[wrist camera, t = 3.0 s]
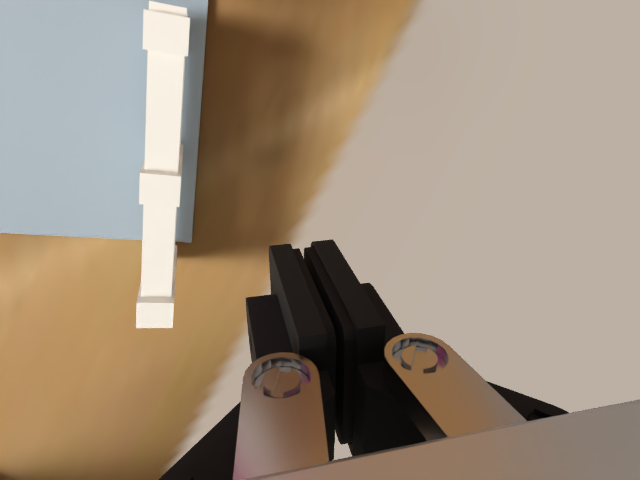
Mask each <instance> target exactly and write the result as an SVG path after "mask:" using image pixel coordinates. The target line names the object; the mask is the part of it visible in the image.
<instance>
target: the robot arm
mask: <svg viewBox="0 0 640 480" xmlns="http://www.w3.org/2000/svg"><path fill="white" fill-rule="evenodd" d="M269 262H270V281H271V295H264V296H256V297H248V298H246V311H247V323H248V334H249V343H250V351H251V358H252V364H251V365H250V366H249V367H248V369H247V370H246V371H245V375H244V377H243V384H242V394H241V402H240V403H239V404H237V405H236V406H235V407H234V408H233V409H232V410H231V411H230V412H229V413H228V414H227V415H226V416H225V417H224V418H223V419H222V420H221V421H220V422H219V423H218V424H217V425H216V426H215V427H213V428H212V429H211V430H210V431H209V432H208V433H207V434H206V435H205V436H204V437H203V438H202V439H201V440H200V441H199V442H198V443H197V444H196V445H194V446H193V447H192V448H191V449H190V450H189V451H188V452H187V453H186V454H185V455H184V456H183V457H182V458H181V459H180V460H179V461H178V462H177V463H176V464H175V465H173V466H172V467H171V468H170V469H169V470H168V471H167V472H166V473H165V474H164V475H163V476H162V477H161V478H160V479H159V480H640V400H636V401H630V402H625V403H620V404H615V405H609V406H605V407H599V408H593V409H588V410H583V411H578V412H573V413H568V412H567V411H565V410H563V409H561V408H558V407H556V406H554V405H551V404H548V403H545V402H543V401H540V400H537V399H534V398H532V397H529V396H526V395H523V394H520V393H518V392H514V391H512V390H509V389H507V388H504V387H501V386H498V385H495V384H492V383H490V382H487V381H485V380H484V379H483V378H482V377H481V376H480V375H479V374H478V373H477V372H476V371H475V370H474V369H473V368H472V367H471V366H469V365H468V364H467V363H466V362H465V361H464V360H463V359H462V358H461V357H460V356H459V355H458V354H457V353H456V352H455V351H454V350H453V349H452V348H451V347H450V346H449V345H447V344H446V343H445V342H443V341H442V340H440V339H438V338H435V337H433V336H430V335H425V334H420V333H408V334H404V333H403V331H402V330H401V328H400V327H399V325H398V324H397V322H396V321H395V319H394V318H393V316H392V314H391V313H390V312H389V310H388V309H387V307H386V305H385V304H384V303H383V301H382V299H381V298H380V297H379V295H378V293H377V292H376V290H375V289H374V287H373V286H372V285H371V284H370V283H364V284H360V282H359V281H358V279H357V278H356V276H355V274H354V273H353V271H352V270H351V268H350V266H349V265H348V263H347V261H346V260H345V258H344V257H343V255H342V253H341V252H340V250H339V249H338V247H337V245H336V244H335V242H334V241H333V240H325V241H315V242H312V243H311V247H308V248H305V249H304V258H303V256H302V254H301V252H300V249H292V246H291V244H284V245H274V246H269ZM335 431H336V434H337V437H338V440H339V442H340V444H346V443H348V445H349V448H350V451H351V454H352V457H348V458H343V459H338V460H334V461H332V460H333V459H334V443H335Z"/></svg>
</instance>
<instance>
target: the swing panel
mask: <svg viewBox="0 0 640 480" xmlns="http://www.w3.org/2000/svg"><path fill="white" fill-rule="evenodd" d="M189 35H190V18H188V14H187V8H184V7H179V6H173V5H168V4H163V3H158V2H153V1H149V10H145V9H143V49H145V50H148V54H147V91H146V128H145V160H144V163H143V165H142V168H141V171H140V180H139V204H143V239H142V276H141V284H140V289H139V293H138V298H137V308H136V328H173V312H174V296H175V279H176V263H177V245H175V237H176V218H177V207H179V205H180V190H181V174H182V158H183V144H181V127H182V109H183V91H184V72H185V56H187V57H188V52H189Z"/></svg>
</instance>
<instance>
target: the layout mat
mask: <svg viewBox="0 0 640 480" xmlns="http://www.w3.org/2000/svg"><path fill="white" fill-rule="evenodd" d="M149 1H153V2H158V3H163V4H168V5H173V6H179V7H184V8H187V14H188V18H190V35H189V52H188V57H187V56H185V72H184V91H183V109H182V127H181V144H183V158H182V174H181V190H180V205H179V207H177V218H176V237H175V242H188V243H192V229H193V214H194V200H195V185H196V171H197V156H198V142H199V127H200V112H201V98H202V83H203V69H204V54H205V40H206V25H207V10H208V0H0V233H13V234H33V235H52V236H72V237H91V238H111V239H130V240H142V239H143V204H139V180H140V171H141V168H142V165H143V163H144V160H145V128H146V91H147V54H148V50H145V49H143V9H145V10H149Z"/></svg>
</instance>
